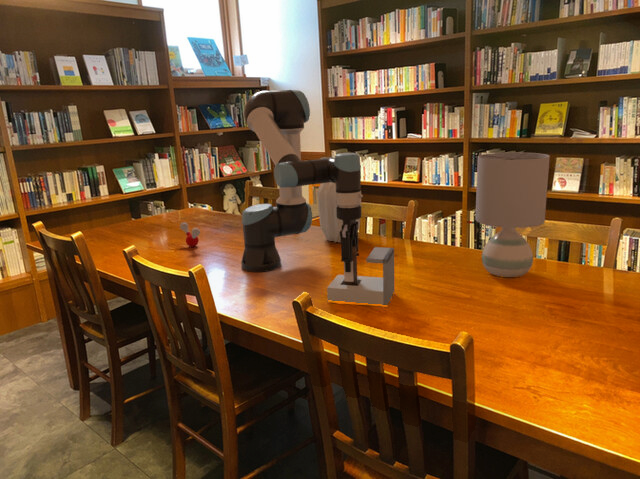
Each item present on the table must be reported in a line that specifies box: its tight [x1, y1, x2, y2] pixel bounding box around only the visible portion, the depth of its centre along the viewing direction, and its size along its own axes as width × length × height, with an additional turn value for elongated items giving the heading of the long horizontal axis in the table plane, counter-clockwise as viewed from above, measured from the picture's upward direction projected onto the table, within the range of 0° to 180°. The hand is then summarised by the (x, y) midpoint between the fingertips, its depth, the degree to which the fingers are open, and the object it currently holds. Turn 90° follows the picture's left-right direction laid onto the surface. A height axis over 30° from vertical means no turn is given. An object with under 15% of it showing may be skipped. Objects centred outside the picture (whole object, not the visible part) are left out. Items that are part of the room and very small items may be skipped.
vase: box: [316, 182, 362, 243], centre depth 221 cm, size 20×20×27 cm
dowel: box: [345, 246, 358, 286], centre depth 155 cm, size 4×4×15 cm
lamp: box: [474, 152, 551, 278], centre depth 166 cm, size 22×22×40 cm
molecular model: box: [179, 222, 201, 248], centre depth 222 cm, size 18×6×10 cm, turn 41°
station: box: [326, 246, 395, 305], centre depth 154 cm, size 19×12×15 cm, turn 72°
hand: (350, 278), depth 156 cm, fingers closed on dowel, 4 cm apart
